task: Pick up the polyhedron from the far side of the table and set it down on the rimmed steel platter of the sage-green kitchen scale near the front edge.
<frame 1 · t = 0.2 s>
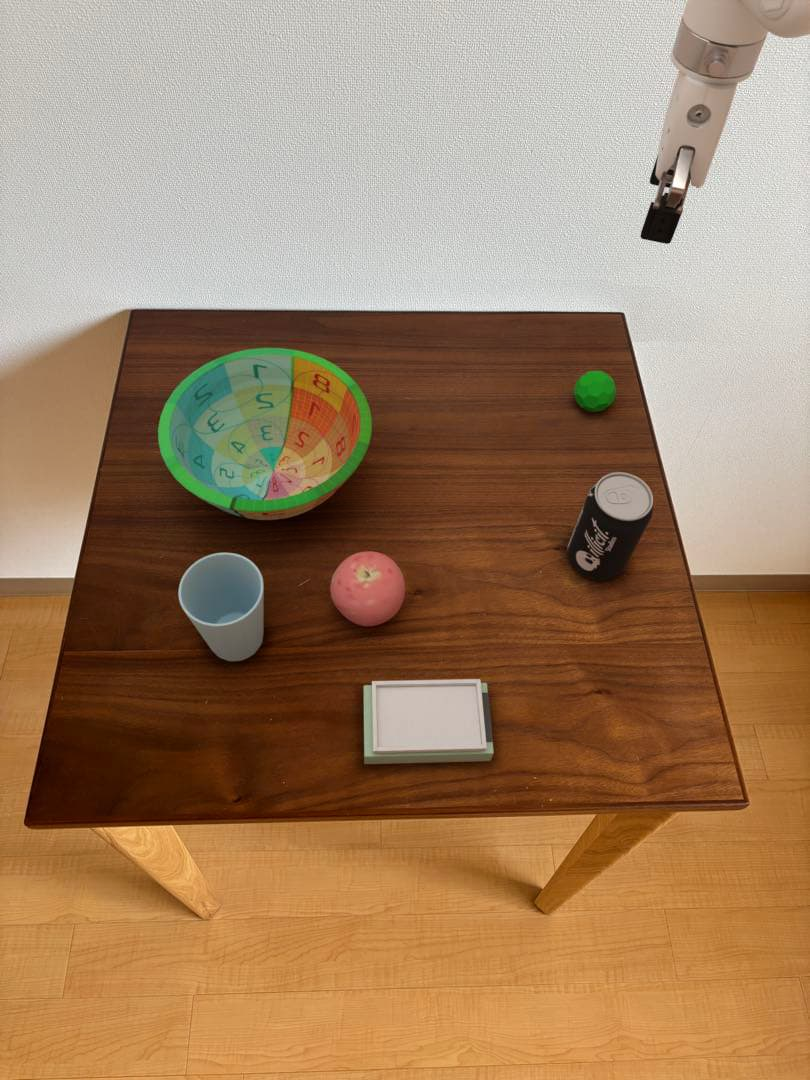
hand: (659, 211, 88), 22 cm above the table, tool pointing down, fingers open, 9 cm apart
cup: (236, 637, 83), on the table
scale: (425, 727, 79), on the table
bowl: (275, 480, 94), on the table
polyhedron: (590, 405, 102), on the table
beverage can: (594, 559, 90), on the table
apple: (368, 608, 86), on the table
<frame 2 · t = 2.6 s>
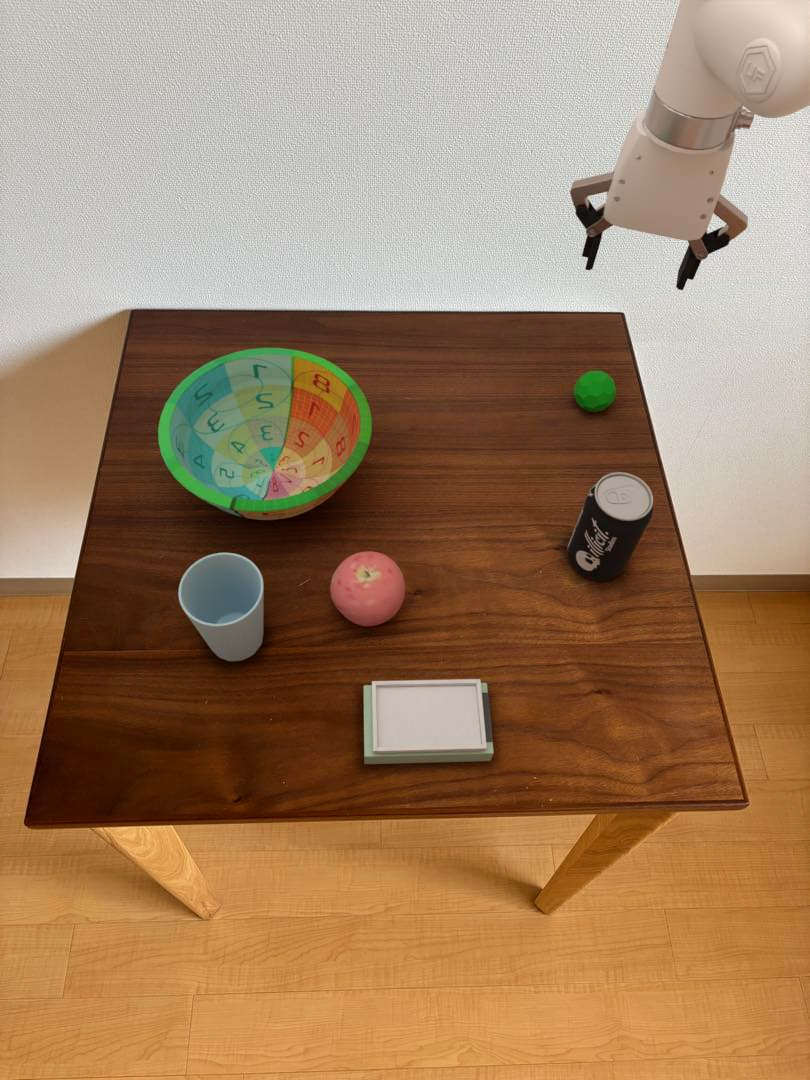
hand: (634, 271, 86), 20 cm above the table, tool pointing down, fingers open, 9 cm apart
nothing on the table moved.
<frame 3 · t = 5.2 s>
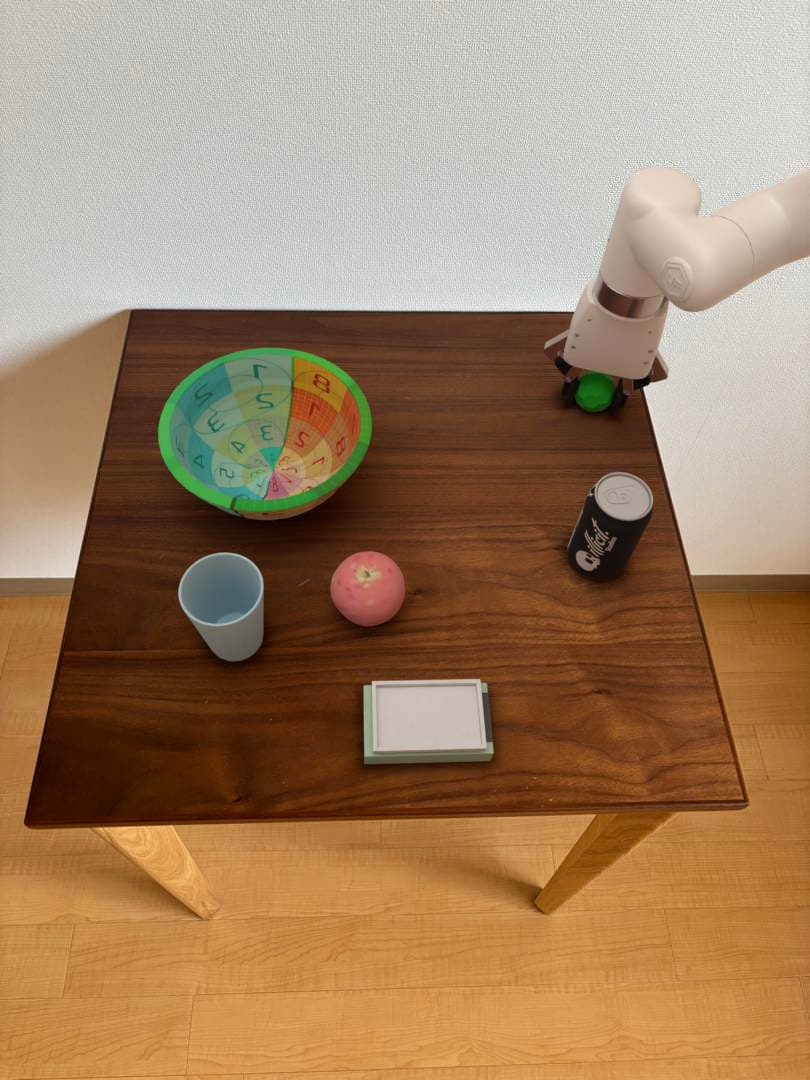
hand: (591, 401, 102), 0 cm above the table, tool pointing down, fingers closed on polyhedron, 5 cm apart
polyhedron: (590, 405, 102), on the table, touching gripper
everything else where it was.
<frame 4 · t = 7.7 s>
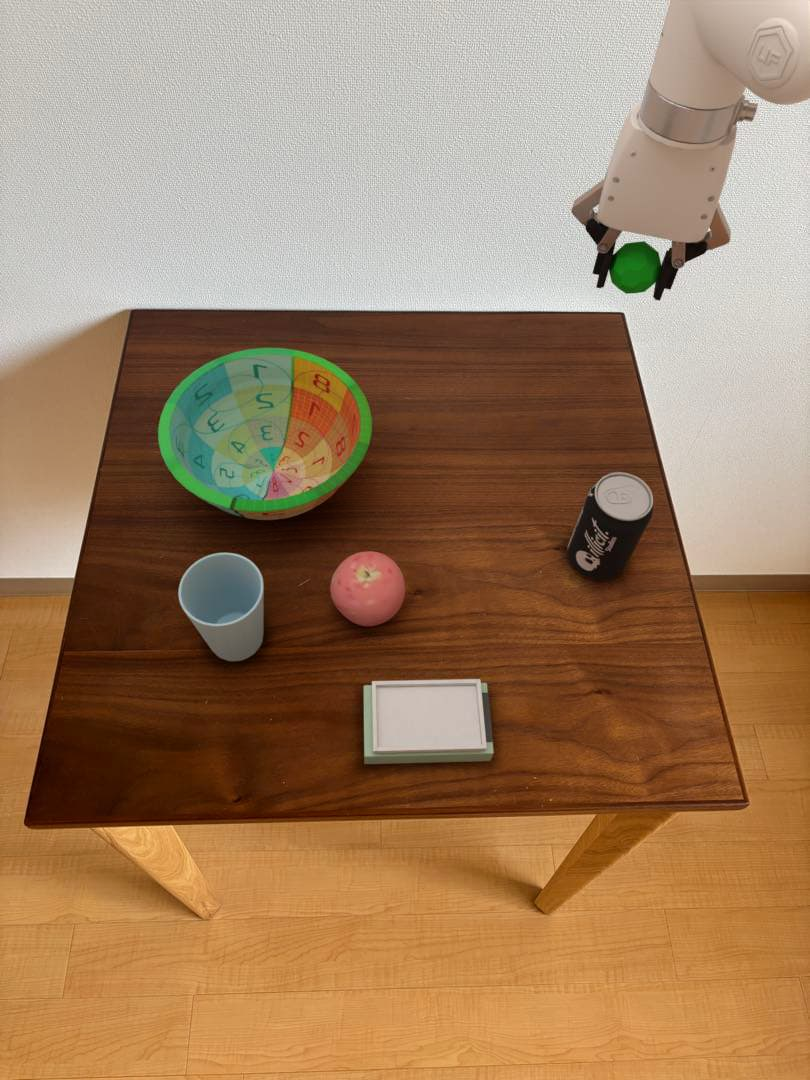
hand: (629, 283, 82), 22 cm above the table, tool pointing down, fingers closed on polyhedron, 5 cm apart
polyhedron: (628, 288, 82), point 21 cm above the table, touching gripper
everything else where it was.
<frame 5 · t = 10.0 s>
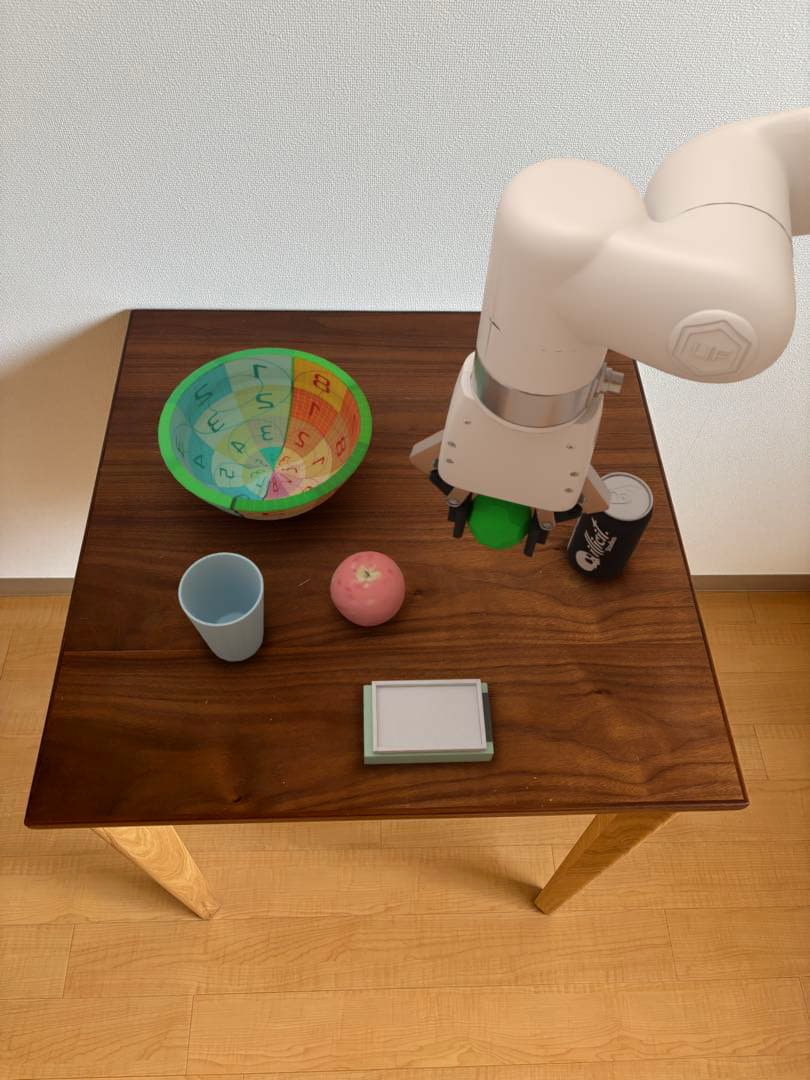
hand: (496, 531, 65), 22 cm above the table, tool pointing down, fingers closed on polyhedron, 5 cm apart
polyhedron: (495, 535, 65), point 22 cm above the table, touching gripper
everything else where it was.
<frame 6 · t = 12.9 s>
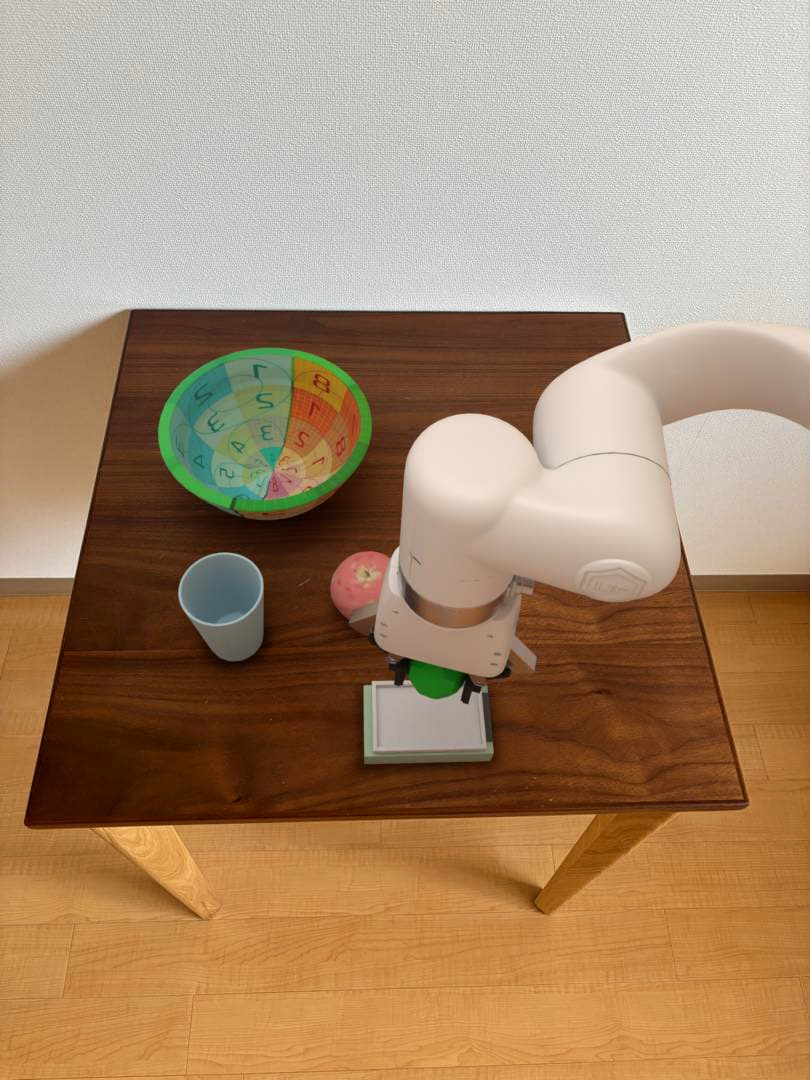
hand: (435, 677, 69), 12 cm above the table, tool pointing down, fingers closed on polyhedron, 5 cm apart
polyhedron: (434, 680, 69), point 12 cm above the table, touching gripper
everything else where it was.
when the fingers open (3 cm above the table, at t = 15.2 s): polyhedron stays where it is, resting on scale.
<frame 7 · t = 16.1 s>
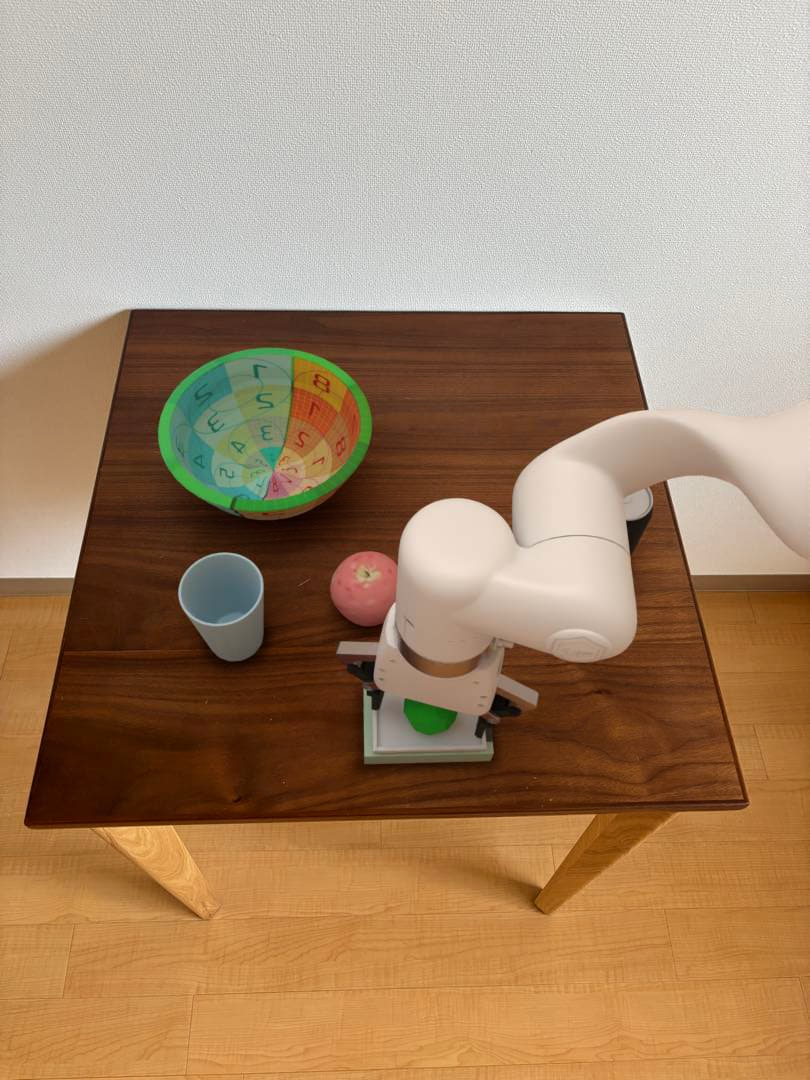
hand: (430, 708, 75), 5 cm above the table, tool pointing down, fingers open, 9 cm apart
polyhedron: (428, 716, 77), point 3 cm above the table, touching scale
everything else where it was.
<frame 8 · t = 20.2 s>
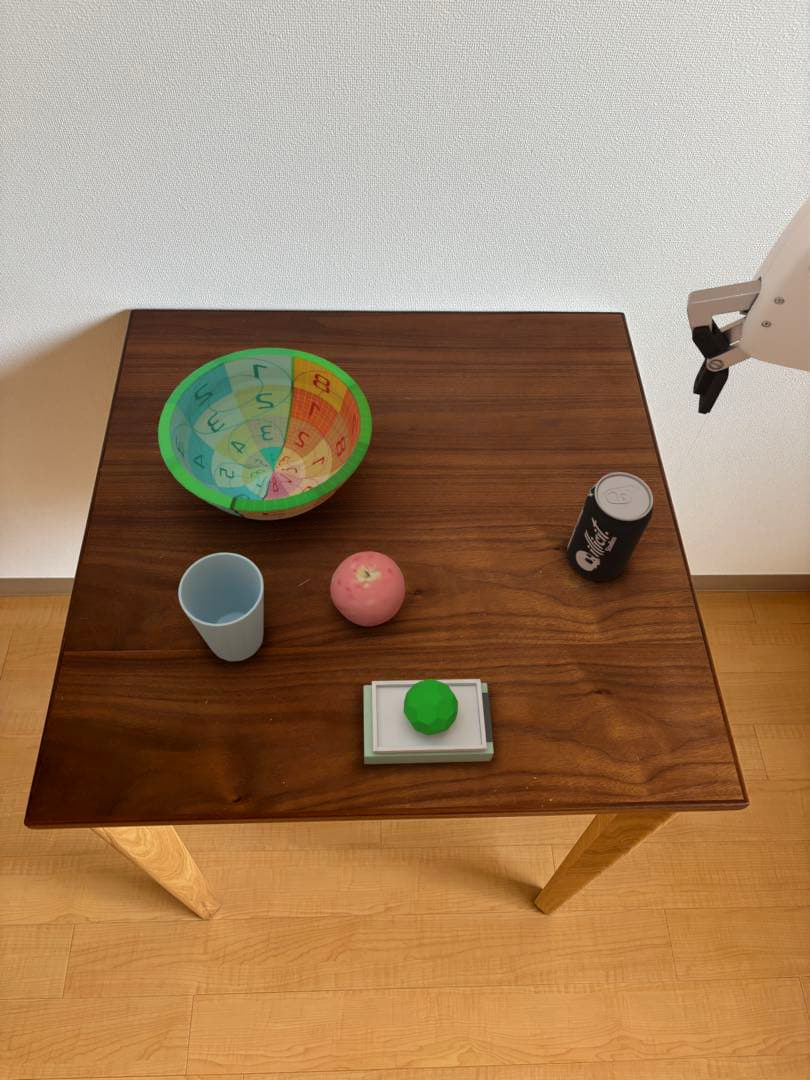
hand: (772, 414, 58), 33 cm above the table, tool pointing down, fingers open, 9 cm apart
nothing on the table moved.
at the end: polyhedron inside the target area on the scale (0.1 cm from its centre), point 2.8 cm above the scale's base; the gripper is holding nothing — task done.
